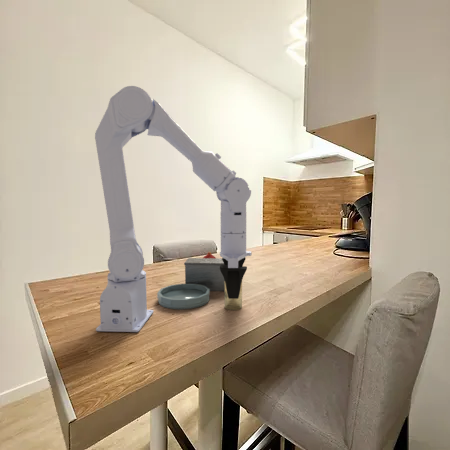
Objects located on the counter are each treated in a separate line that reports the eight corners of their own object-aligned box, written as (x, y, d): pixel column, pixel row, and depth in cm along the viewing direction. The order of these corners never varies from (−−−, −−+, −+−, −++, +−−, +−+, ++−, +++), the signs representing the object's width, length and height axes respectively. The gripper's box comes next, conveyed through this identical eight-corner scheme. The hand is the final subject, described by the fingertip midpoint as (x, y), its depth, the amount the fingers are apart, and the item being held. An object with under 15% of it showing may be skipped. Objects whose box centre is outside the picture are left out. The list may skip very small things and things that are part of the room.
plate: (206, 309, 61) (206, 300, 60) (151, 309, 61) (151, 299, 61) (211, 292, 73) (211, 283, 73) (165, 291, 73) (165, 283, 73)
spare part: (242, 310, 60) (242, 283, 60) (224, 310, 61) (224, 283, 60) (241, 303, 64) (242, 278, 64) (224, 303, 65) (224, 278, 64)
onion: (198, 274, 90) (198, 250, 90) (215, 273, 92) (214, 249, 92) (203, 279, 85) (203, 253, 84) (220, 277, 87) (220, 252, 86)
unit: (230, 291, 73) (230, 263, 73) (184, 290, 74) (184, 262, 73) (231, 284, 80) (231, 258, 79) (188, 283, 80) (188, 258, 80)
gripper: (253, 236, 54) (253, 304, 55) (249, 229, 68) (249, 282, 69) (217, 236, 54) (218, 303, 55) (221, 229, 68) (221, 282, 70)
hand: (233, 292), depth 62 cm, fingers open, 7 cm apart
